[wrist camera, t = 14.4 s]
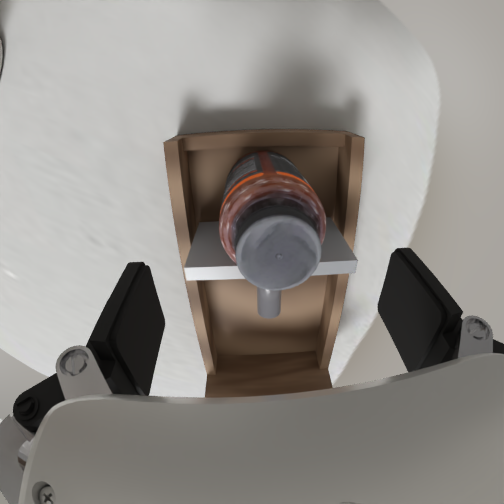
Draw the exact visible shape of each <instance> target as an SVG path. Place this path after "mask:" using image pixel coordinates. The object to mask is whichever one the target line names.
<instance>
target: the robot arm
mask: <svg viewBox="0 0 504 504" xmlns="http://www.w3.org/2000/svg"><path fill="white" fill-rule="evenodd" d="M2 57H3V53H2V42H1V39H0V72H1V67H2ZM378 312H379V314H380V316H381V318H382V320H383V322H384V323H385V326H386V328H387V330H388V331H389V333H390V335H391V337H392V339H393V341H394V343H395V345H396V348H397V349H398V352H399V354H400V356H401V358H402V360H403V362H404V364H405V366H406V368H407V371H408V373H405V374H400V375H396V376H393V377H388V378H383V379H379V380H374V381H370V382H365V383H359V384H354V385H348V386H343V387H337V388H330V389H323V390H316V391H308V392H300V393H290V394H280V395H267V396H251V397H224V398H194V397H161V396H148V395H149V393H150V388H151V383H152V379H153V374H154V370H155V365H156V361H157V357H158V352H159V348H160V344H161V340H162V336H163V332H164V328H165V319H164V315H163V312H162V309H161V305H160V302H159V299H158V295H157V292H156V288H155V285H154V281H153V277H152V274H151V270H150V267H149V266H148V265H147V266H145V264H144V262H130V263H128V264H127V266H126V268H125V270H124V272H123V273H122V275H121V277H120V279H119V281H118V283H117V285H116V286H115V288H114V290H113V292H112V294H111V296H110V298H109V299H108V301H107V303H106V305H105V307H104V309H103V311H102V313H101V315H100V317H99V319H98V321H97V323H96V325H95V327H94V330H93V332H92V334H91V336H90V338H89V340H88V343H87V345H86V347H85V346H80V345H79V346H73V347H70V348H68V349H66V350H65V351H64V352H63V353H62V354H61V355H60V356H59V358H58V359H57V362H56V372H57V373H55V374H54V375H52V376H50V377H49V378H47V379H45V380H43V381H42V382H40V383H39V384H37V385H35V386H33V387H32V388H30V389H28V390H26V391H25V392H23V393H22V394H21V395H19V397H18V398H17V399H16V401H15V403H14V406H13V416H10V415H8V416H7V417H6V418H5V419H4V420H3V421H2V422H1V423H0V491H1V492H2V494H3V495H4V497H5V498H6V500H7V501H8V503H9V504H504V344H503V343H500V342H498V341H496V340H494V339H493V333H492V329H491V327H490V325H489V324H488V323H487V322H486V321H485V320H483V319H482V318H480V317H477V316H467V317H465V318H464V319H463V320H462V319H461V315H462V313H463V311H462V310H461V308H460V307H459V306H458V305H457V303H456V302H455V300H454V299H453V298H452V297H451V295H450V294H449V293H448V292H447V290H446V289H445V288H444V287H443V285H442V284H441V283H440V282H439V281H438V279H437V278H436V277H435V276H434V275H433V273H432V272H431V271H430V270H429V269H428V268H427V266H426V265H425V264H424V263H423V262H422V261H421V260H420V258H419V257H418V256H417V255H416V254H415V253H414V252H413V251H412V249H410V248H397V249H396V250H395V251H394V252H393V253H392V254H391V257H390V261H389V265H388V269H387V273H386V277H385V281H384V284H383V288H382V292H381V295H380V298H379V302H378Z"/></svg>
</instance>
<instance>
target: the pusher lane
mask: <svg viewBox="0 0 504 504" xmlns="http://www.w3.org/2000/svg"><path fill="white" fill-rule="evenodd" d="M364 140H365V138H364V137H361V136H358V135H356V134H353V133H350V132H347V131H334V130H310V129H260V130H235V131H219V132H207V133H196V134H186V135H177V136H175V137H173V138H171V139H169V140H167V141H165V142H163V143H164V152H165V161H166V169H167V177H168V184H169V191H170V198H171V205H172V212H173V218H174V224H175V230H176V236H177V242H178V247H179V253H180V258H181V263H182V269H183V274H184V279H185V284H186V288H187V293H188V298H189V302H190V307H191V312H192V316H193V320H194V325H195V329H196V333H197V337H198V341H199V345H200V349H201V353H202V357H203V361H204V365H205V369H206V372H207V382H206V392H205V398H224V397H251V396H267V395H280V394H290V393H300V392H308V391H316V390H323V389H330V388H333V387H332V383H331V379H330V375H329V371H328V366H329V363H330V359H331V355H332V351H333V347H334V343H335V339H336V335H337V330H338V326H339V322H340V317H341V313H342V308H343V303H344V298H345V293H346V288H347V283H348V277H349V273H347V274H331V275H313V276H310V277H309V278H308V279H307V280H306V281H304V282H303V283H301V284H299V285H298V286H295V287H293V288H290V289H285V290H281V312H280V314H279V315H278V316H277V317H275V318H272V319H267V318H263V317H261V316H260V315H259V314H258V310H257V286H255V285H253V284H251V283H250V282H249V281H248V280H247V279H224V280H190V281H186V276H185V270H184V266H185V263H186V260H187V257H188V254H189V251H190V248H191V245H192V242H193V239H194V236H195V233H196V231H197V228H198V225H199V222H214V221H219V218H220V210H221V205H222V200H223V195H224V190H225V184H226V180H227V176H228V174H229V172H230V170H231V168H232V167H233V165H234V164H235V163H236V162H237V161H238V160H239V159H240V158H241V157H243V156H245V155H246V154H248V153H251V152H254V151H261V150H267V151H273V152H277V153H279V154H281V155H283V156H285V157H286V158H287V159H289V160H290V161H291V162H292V163H293V164H294V165H295V166H296V168H297V169H298V170H299V172H300V173H301V174H302V175H303V177H304V178H305V179H306V181H307V182H308V184H309V185H310V186H311V187H312V189H313V190H314V192H315V193H316V195H317V196H318V198H319V199H320V201H321V204H322V206H323V208H324V212H325V215H326V218H329V217H331V219H332V220H333V222H334V223H335V225H336V227H337V228H338V230H339V231H340V233H341V234H342V236H343V237H344V239H345V241H346V242H347V244H348V245H349V247H350V249H351V250H352V252H353V247H354V241H355V234H356V226H357V219H358V211H359V202H360V192H361V182H362V171H363V157H364Z"/></svg>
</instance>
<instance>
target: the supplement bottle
mask: <svg viewBox="0 0 504 504" xmlns="http://www.w3.org/2000/svg"><path fill="white" fill-rule="evenodd" d="M325 232H326V215H325V212H324V208H323V206H322V204H321V201H320V199H319V198H318V196H317V195H316V193H315V192H314V190H313V189H312V187H311V186H310V185H309V184H308V182H307V181H306V179H305V178H304V177H303V175H302V174H301V173H300V172H299V170H298V169H297V168H296V166H295V165H294V164H293V163H292V162H291V161H290V160H289V159H287V158H286V157H285V156H283V155H281V154H279V153H277V152H273V151H267V150H261V151H254V152H251V153H248V154H246V155H245V156H243V157H241V158H240V159H239V160H238V161H237V162H236V163H235V164H234V165H233V167H232V168H231V170H230V172H229V174H228V176H227V180H226V184H225V190H224V195H223V200H222V205H221V210H220V218H219V234H220V239H221V243H222V245H223V247H224V249H225V251H226V253H227V254H228V255H229V257H230V258H231V259H232V260H233V261H234V262H235V263H236V264H237V266H238V269H239V271H240V272H241V274H242V275H243V276H244V278H245V279H247V280H248V281H249V282H250V283H251V284H253V285H255V286H257V287H260V288H262V289H267V290H274V291H275V290H285V289H290V288H293V287H295V286H298V285H299V284H301V283H303V282H304V281H306V280H307V279H308V278H309V277H310V276H311V275H312V274H313V273H314V271H315V270H316V269H317V266H318V264H319V262H320V259H321V252H322V247H321V245H322V243H323V240H324V237H325Z"/></svg>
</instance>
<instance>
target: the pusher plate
mask: <svg viewBox="0 0 504 504" xmlns="http://www.w3.org/2000/svg"><path fill="white" fill-rule="evenodd" d="M321 247H322V252H321V259H320V262H319V264H318V266H317V269H316V270H315V271H314V273H313V274H312V275H311V276H313V275H331V274H347V273H355V272H356V267H357V261H358V260H357V258H356V257H355V255H354V253H353V252H352V250H351V249H350V247H349V245H348V244H347V242H346V241H345V239H344V237H343V236H342V234H341V233H340V231H339V230H338V228H337V227H336V225H335V223H334V222H333V220H332V219H331V217H329V218H326V232H325V237H324V240H323V243H322V245H321ZM184 270H185V276H186V281H190V280H224V279H245V278H244V276H243V275H242V274H241V272H240V271H239V269H238V266H237V264H236V263H235V262H234V261H233V260H232V259H231V258H230V257H229V255H228V254H227V253H226V251H225V249H224V247H223V245H222V243H221V239H220V234H219V221H214V222H199V225H198V228H197V231H196V233H195V236H194V239H193V242H192V245H191V248H190V251H189V254H188V257H187V260H186V263H185V266H184ZM257 310H258V314H259V315H260V316H261V317H263V318H267V319H272V318H275V317H277V316H278V315H279V314H280V312H281V290H275V291H274V290H267V289H262V288H260V287H257Z"/></svg>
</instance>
